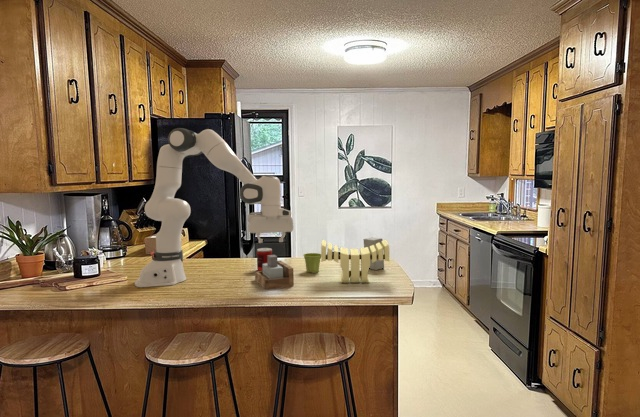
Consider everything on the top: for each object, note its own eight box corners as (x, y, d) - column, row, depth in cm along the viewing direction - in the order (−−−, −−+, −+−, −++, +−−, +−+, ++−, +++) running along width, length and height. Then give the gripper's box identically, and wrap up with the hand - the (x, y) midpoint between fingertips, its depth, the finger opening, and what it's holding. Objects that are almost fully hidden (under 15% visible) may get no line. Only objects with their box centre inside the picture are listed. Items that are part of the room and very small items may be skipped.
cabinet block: (270, 287, 179) (269, 259, 178) (262, 280, 190) (261, 254, 189) (283, 285, 181) (282, 257, 180) (275, 279, 192) (274, 253, 191)
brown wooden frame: (255, 279, 191) (254, 263, 190) (280, 276, 196) (280, 260, 195) (266, 289, 175) (265, 271, 174) (293, 285, 180) (293, 268, 179)
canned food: (273, 268, 214) (273, 247, 213) (270, 272, 206) (269, 250, 205) (259, 268, 215) (259, 247, 214) (255, 272, 207) (255, 250, 206)
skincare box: (384, 268, 210) (384, 238, 208) (374, 270, 206) (374, 239, 204) (373, 265, 217) (373, 236, 215) (363, 267, 213) (363, 237, 211)
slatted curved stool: (321, 284, 181) (321, 245, 180) (323, 275, 197) (322, 239, 196) (389, 284, 180) (389, 244, 178) (385, 275, 196) (385, 239, 194)
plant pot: (315, 268, 213) (315, 252, 212) (325, 272, 205) (325, 255, 204) (300, 271, 208) (299, 254, 207) (309, 274, 200) (309, 257, 199)
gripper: (249, 212, 175) (249, 244, 176) (294, 211, 183) (294, 242, 183) (246, 211, 181) (246, 242, 181) (290, 211, 188) (290, 240, 189)
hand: (270, 242), depth 182 cm, fingers open, 8 cm apart
